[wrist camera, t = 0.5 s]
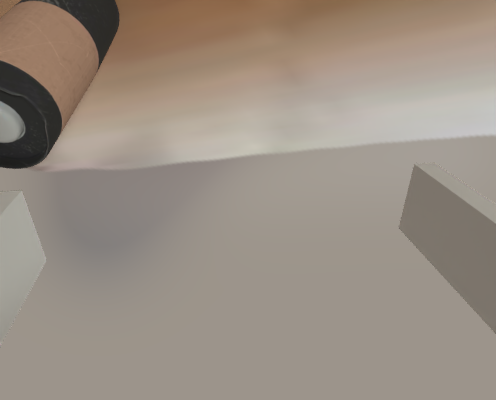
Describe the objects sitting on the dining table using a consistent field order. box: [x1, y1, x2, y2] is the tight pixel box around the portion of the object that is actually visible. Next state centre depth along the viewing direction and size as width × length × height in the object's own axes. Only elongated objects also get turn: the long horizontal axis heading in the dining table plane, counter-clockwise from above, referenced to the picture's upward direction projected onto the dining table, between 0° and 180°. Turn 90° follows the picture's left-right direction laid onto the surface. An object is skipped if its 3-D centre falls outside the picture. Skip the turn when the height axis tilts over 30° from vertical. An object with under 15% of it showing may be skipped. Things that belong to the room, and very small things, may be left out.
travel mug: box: [0, 0, 119, 169], centre depth 30 cm, size 8×8×20 cm
